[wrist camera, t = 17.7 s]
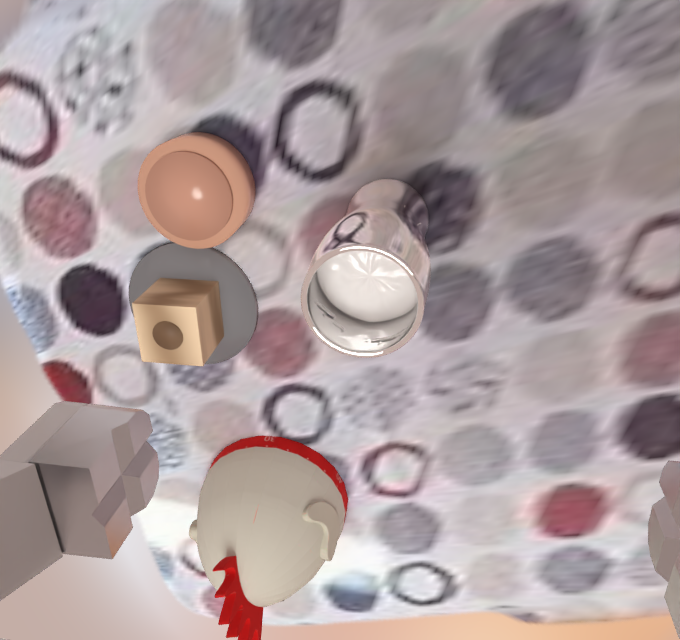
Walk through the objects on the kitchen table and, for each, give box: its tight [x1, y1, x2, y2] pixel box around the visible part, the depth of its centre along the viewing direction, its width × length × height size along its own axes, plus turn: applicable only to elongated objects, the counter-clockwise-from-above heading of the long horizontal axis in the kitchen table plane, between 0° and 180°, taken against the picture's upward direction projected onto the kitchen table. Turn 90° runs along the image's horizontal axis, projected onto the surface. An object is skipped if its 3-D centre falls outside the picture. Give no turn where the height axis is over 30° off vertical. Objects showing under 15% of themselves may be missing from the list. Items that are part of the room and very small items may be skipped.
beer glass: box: [301, 179, 431, 358], centre depth 39 cm, size 7×7×15 cm
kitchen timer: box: [189, 436, 348, 640], centre depth 53 cm, size 14×14×15 cm
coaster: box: [129, 242, 258, 364], centre depth 51 cm, size 11×11×1 cm
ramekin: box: [138, 132, 255, 249], centre depth 45 cm, size 8×8×4 cm
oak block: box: [132, 278, 224, 366], centre depth 48 cm, size 5×5×5 cm
